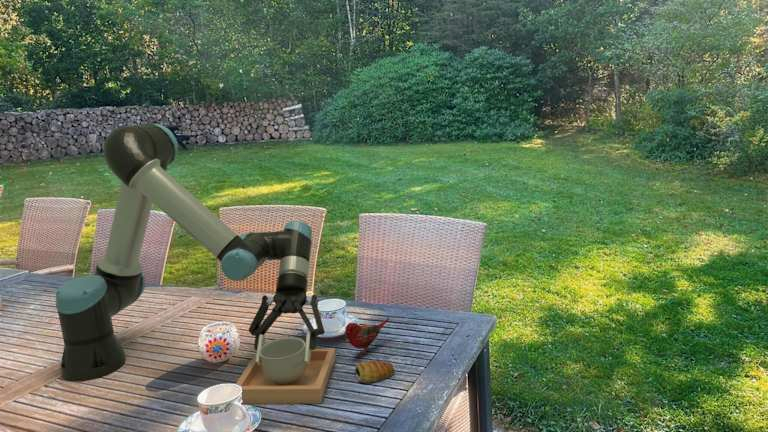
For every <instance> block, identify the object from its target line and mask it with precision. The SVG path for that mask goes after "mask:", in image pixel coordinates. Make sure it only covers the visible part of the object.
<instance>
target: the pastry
mask: <svg viewBox="0 0 768 432" xmlns="http://www.w3.org/2000/svg"><path fill="white" fill-rule="evenodd" d="M355 364H356V365H355V367H354V373H355V374H356V375H355V377H356V378H357V380H358V382H360V383H364V384H371V383H372V382H374V383H377V382H379V381H383V380H386V379H388V378H390V377H391V376H393V375H394V374H395V368H394V364H392V363H390V362H387V361H385V362H384V361H379V360H374V361H373V360H370V359H369V360H368V361H364V360H363V361H361V362H360V363H355Z"/></svg>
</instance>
